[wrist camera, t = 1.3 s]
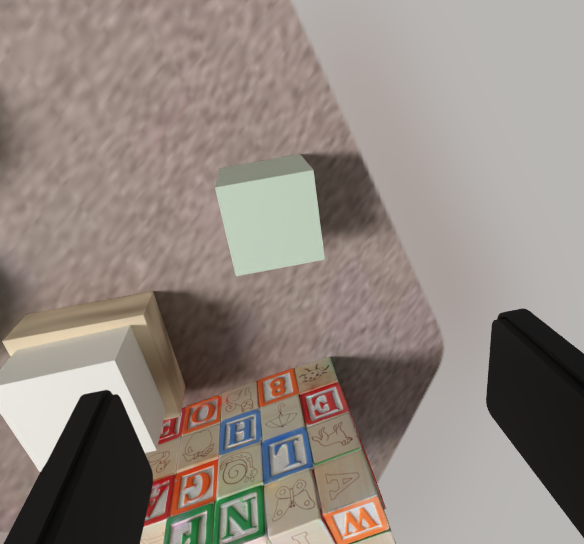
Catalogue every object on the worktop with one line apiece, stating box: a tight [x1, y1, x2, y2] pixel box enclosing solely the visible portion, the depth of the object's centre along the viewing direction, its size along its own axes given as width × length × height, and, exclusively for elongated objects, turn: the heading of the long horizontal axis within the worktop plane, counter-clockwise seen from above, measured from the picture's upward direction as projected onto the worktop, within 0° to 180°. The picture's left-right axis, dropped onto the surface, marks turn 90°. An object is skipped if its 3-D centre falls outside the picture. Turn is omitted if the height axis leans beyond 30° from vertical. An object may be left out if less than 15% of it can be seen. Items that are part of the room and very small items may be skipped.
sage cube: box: [215, 154, 325, 276], centre depth 24 cm, size 5×5×5 cm
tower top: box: [0, 325, 166, 472], centre depth 25 cm, size 7×7×4 cm
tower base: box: [2, 291, 186, 420], centre depth 28 cm, size 8×8×4 cm
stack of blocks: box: [140, 357, 396, 544], centre depth 28 cm, size 21×6×12 cm, turn 109°
